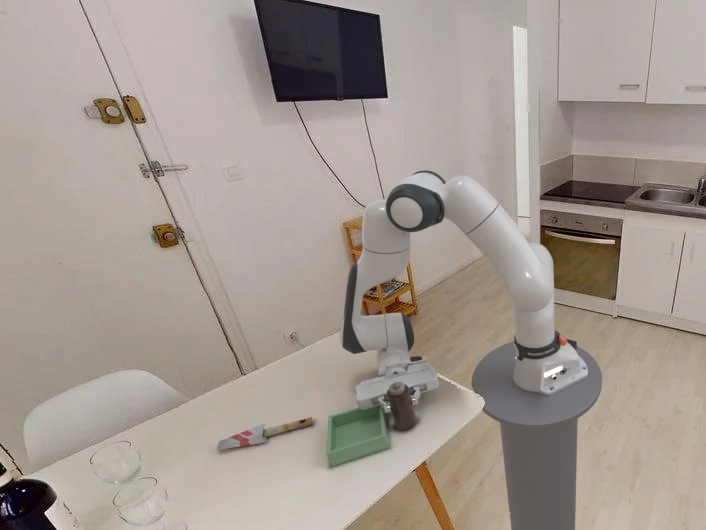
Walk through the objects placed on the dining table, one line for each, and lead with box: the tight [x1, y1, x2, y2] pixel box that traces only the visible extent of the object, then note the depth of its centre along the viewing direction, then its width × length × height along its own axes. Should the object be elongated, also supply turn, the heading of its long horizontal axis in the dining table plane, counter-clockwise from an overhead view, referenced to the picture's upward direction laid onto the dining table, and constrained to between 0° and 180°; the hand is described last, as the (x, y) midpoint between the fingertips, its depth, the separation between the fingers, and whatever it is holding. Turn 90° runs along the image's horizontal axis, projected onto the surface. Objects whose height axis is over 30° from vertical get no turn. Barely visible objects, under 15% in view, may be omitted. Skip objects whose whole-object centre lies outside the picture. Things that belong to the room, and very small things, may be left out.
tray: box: [326, 405, 390, 467], centre depth 99 cm, size 13×13×4 cm
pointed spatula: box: [216, 416, 314, 451], centre depth 100 cm, size 4×3×20 cm
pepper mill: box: [387, 382, 417, 432], centre depth 100 cm, size 5×5×13 cm
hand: (401, 406), depth 100 cm, fingers closed on pepper mill, 5 cm apart
